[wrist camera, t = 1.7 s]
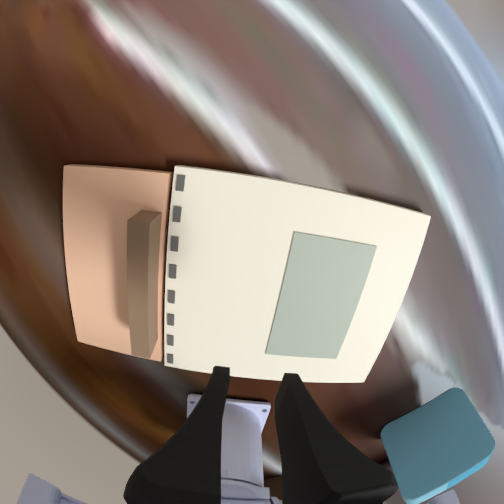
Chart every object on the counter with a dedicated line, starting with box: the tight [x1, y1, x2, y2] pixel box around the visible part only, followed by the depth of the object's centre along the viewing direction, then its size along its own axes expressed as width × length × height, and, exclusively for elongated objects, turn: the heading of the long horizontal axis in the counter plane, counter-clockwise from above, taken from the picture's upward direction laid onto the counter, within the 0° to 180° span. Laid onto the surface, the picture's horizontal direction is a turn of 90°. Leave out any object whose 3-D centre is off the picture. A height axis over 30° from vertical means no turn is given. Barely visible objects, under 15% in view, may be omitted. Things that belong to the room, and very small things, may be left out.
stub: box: [63, 164, 173, 361], centre depth 19 cm, size 15×8×4 cm, turn 171°
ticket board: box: [164, 165, 431, 383], centre depth 21 cm, size 16×18×1 cm
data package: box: [381, 388, 495, 504], centre depth 23 cm, size 12×4×12 cm, turn 118°
